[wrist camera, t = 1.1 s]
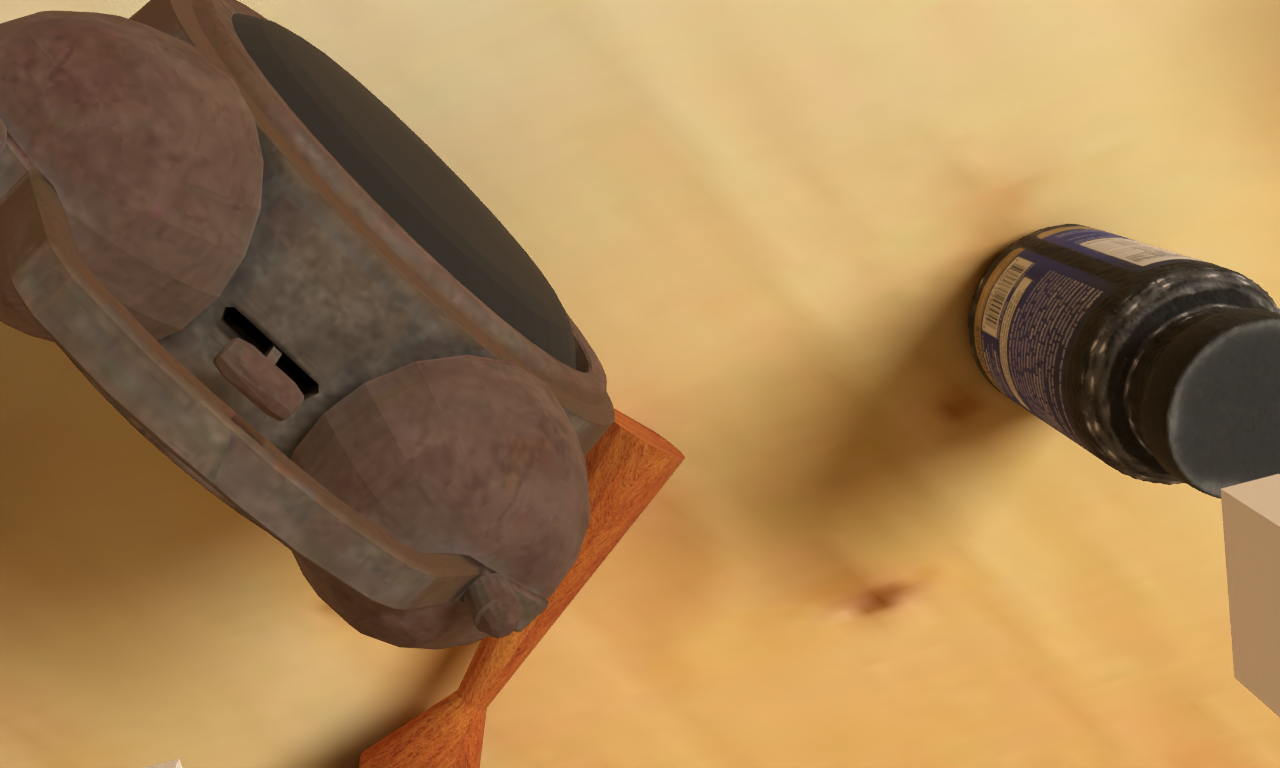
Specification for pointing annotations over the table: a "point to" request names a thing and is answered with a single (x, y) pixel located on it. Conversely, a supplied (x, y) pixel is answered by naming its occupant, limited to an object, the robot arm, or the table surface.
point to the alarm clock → (299, 310)
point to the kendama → (618, 493)
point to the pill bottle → (1135, 355)
